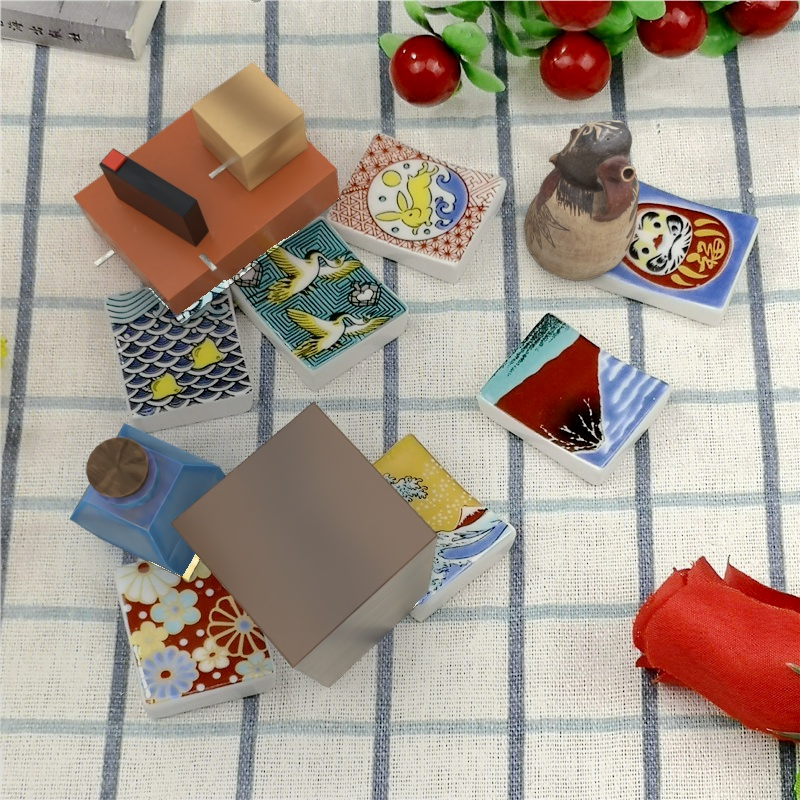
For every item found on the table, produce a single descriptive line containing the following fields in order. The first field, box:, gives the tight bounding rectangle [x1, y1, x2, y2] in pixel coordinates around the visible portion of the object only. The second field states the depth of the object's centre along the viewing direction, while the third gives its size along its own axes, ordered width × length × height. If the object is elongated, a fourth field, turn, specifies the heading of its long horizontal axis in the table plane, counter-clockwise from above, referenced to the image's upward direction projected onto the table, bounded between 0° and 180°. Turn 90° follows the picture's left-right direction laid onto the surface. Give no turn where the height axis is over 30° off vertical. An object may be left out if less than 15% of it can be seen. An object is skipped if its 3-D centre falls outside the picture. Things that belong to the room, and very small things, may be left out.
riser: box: [171, 401, 439, 689], centre depth 52 cm, size 8×8×20 cm
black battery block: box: [98, 148, 209, 247], centre depth 63 cm, size 6×1×4 cm, turn 56°
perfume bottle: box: [69, 422, 226, 576], centre depth 57 cm, size 6×6×12 cm
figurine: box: [523, 119, 640, 281], centre depth 63 cm, size 7×7×12 cm
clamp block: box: [73, 108, 341, 315], centre depth 67 cm, size 16×11×4 cm
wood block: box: [190, 62, 308, 191], centre depth 64 cm, size 5×5×4 cm
